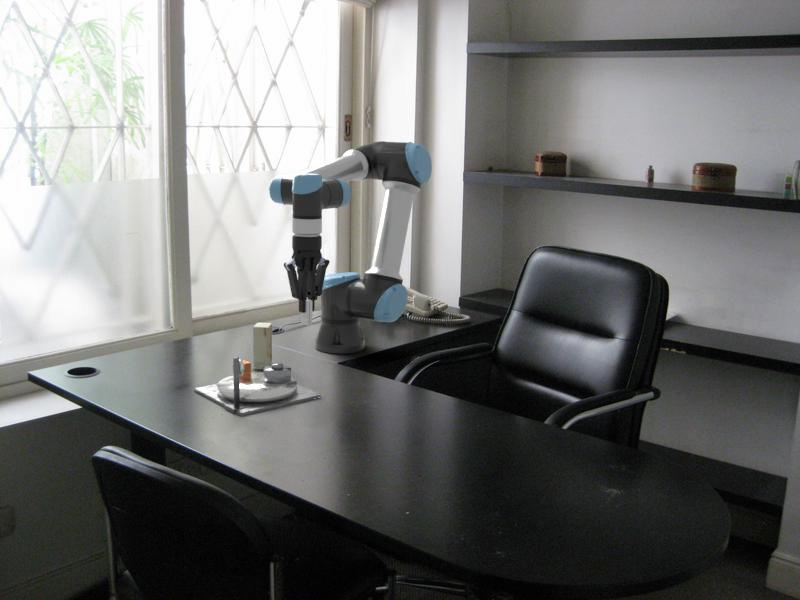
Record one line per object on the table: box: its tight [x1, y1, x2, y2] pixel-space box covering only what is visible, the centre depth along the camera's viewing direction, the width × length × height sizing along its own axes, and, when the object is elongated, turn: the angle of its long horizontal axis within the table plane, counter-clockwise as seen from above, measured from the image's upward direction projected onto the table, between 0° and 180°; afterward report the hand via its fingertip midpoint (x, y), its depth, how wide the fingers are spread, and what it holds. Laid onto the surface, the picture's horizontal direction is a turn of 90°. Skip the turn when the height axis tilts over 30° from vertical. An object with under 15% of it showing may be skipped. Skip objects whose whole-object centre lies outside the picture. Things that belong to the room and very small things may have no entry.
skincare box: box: [252, 322, 273, 370], centre depth 240 cm, size 6×4×12 cm
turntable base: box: [194, 383, 322, 417], centre depth 217 cm, size 23×23×1 cm
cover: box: [263, 361, 292, 384], centre depth 220 cm, size 7×7×4 cm
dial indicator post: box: [224, 356, 248, 415], centre depth 205 cm, size 4×6×13 cm
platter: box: [216, 359, 298, 402], centre depth 216 cm, size 20×20×5 cm
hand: (306, 323), depth 223 cm, fingers closed
